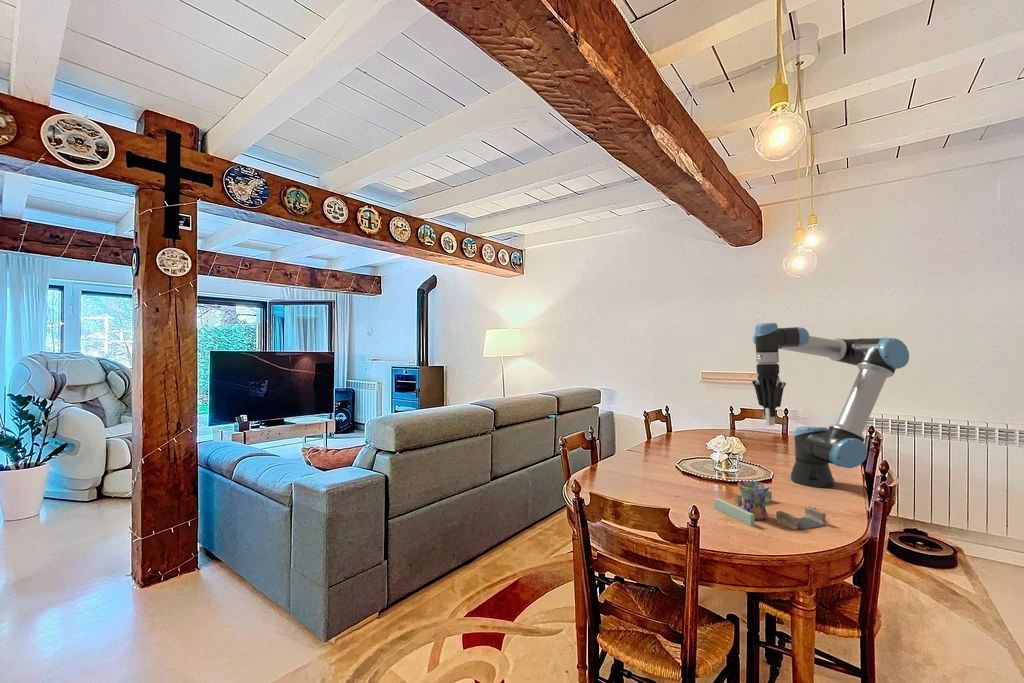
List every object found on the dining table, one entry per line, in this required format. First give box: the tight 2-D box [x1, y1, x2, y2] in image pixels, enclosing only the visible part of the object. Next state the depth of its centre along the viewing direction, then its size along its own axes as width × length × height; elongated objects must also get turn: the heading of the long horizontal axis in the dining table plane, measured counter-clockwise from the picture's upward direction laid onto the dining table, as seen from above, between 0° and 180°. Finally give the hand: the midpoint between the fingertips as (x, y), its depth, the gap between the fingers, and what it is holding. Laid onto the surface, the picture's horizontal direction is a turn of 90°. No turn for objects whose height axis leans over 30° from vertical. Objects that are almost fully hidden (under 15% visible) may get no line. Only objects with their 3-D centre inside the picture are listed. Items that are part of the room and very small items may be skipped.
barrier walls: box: [734, 490, 827, 530], centre depth 151 cm, size 15×24×4 cm, turn 16°
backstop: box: [714, 497, 756, 527], centre depth 148 cm, size 2×16×4 cm, turn 16°
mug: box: [737, 480, 770, 520], centre depth 150 cm, size 12×9×11 cm
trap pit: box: [797, 516, 826, 531], centre depth 142 cm, size 10×7×1 cm
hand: (770, 424), depth 169 cm, fingers closed
